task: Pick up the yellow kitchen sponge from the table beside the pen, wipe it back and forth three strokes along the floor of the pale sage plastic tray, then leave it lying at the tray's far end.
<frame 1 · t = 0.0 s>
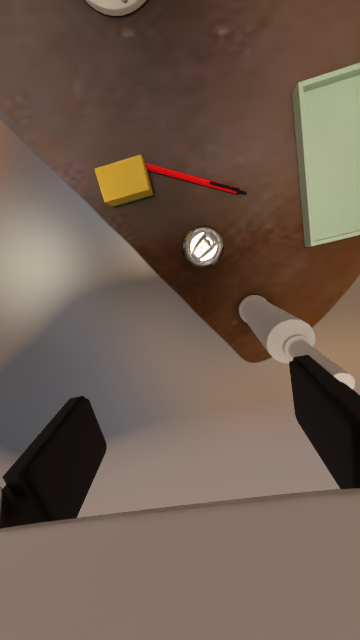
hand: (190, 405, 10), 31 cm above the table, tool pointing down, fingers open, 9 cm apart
bottle: (251, 307, 40), on the table
tray: (333, 166, 34), on the table
soda can: (200, 249, 38), on the table
sponge: (129, 186, 36), on the table
pen: (187, 178, 35), on the table
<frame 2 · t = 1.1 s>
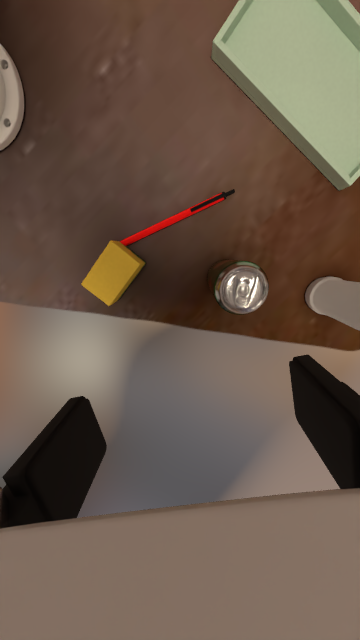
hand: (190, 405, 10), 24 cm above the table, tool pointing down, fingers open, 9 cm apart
bottle: (321, 294, 32), on the table
tray: (312, 85, 25), on the table
soda can: (224, 277, 32), on the table
sponge: (119, 271, 32), on the table, touching pen
pen: (166, 224, 30), on the table, touching sponge
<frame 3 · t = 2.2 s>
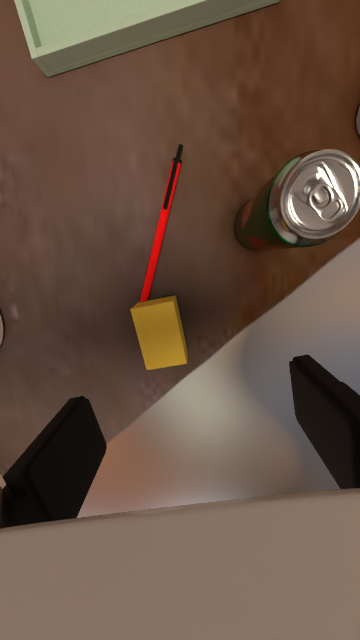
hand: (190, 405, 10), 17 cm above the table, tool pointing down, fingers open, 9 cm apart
soda can: (257, 225, 24), on the table
sponge: (164, 325, 27), on the table
pen: (157, 245, 25), on the table
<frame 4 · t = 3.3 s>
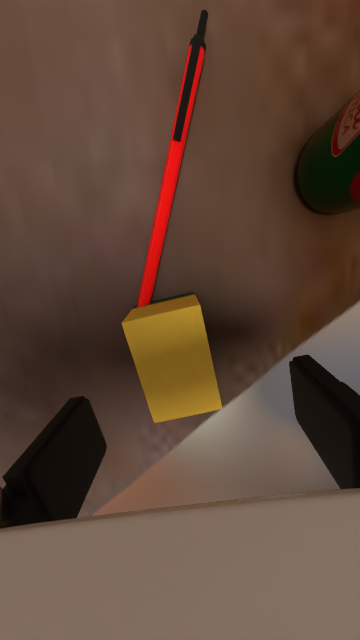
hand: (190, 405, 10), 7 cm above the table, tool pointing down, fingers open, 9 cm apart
soda can: (332, 172, 14), on the table
sponge: (175, 343, 17), on the table, touching pen
pen: (164, 212, 15), on the table, touching sponge
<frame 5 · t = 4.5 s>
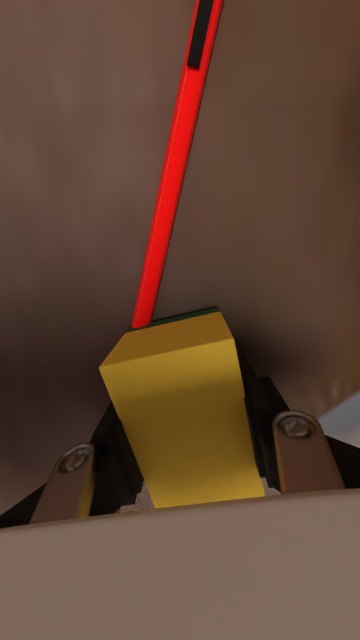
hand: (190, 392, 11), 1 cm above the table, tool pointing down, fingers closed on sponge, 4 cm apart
sponge: (189, 378, 12), on the table, touching gripper
pen: (171, 191, 10), on the table
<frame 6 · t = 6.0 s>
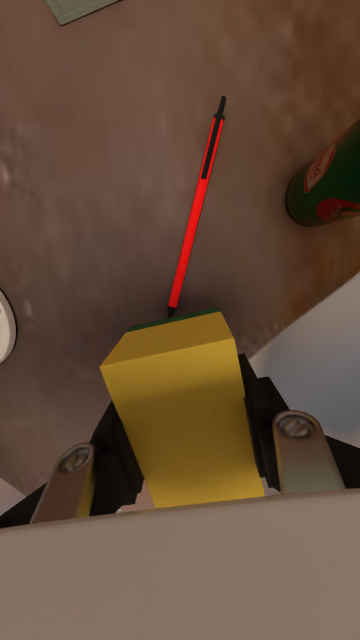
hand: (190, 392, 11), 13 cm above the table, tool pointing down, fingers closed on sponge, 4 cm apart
soda can: (313, 196, 19), on the table
sponge: (189, 377, 12), point 12 cm above the table, touching gripper
pen: (192, 226, 21), on the table
when the fingers open (2 cm above the table, at t = 19.4 s): sponge stays where it is, resting on tray.
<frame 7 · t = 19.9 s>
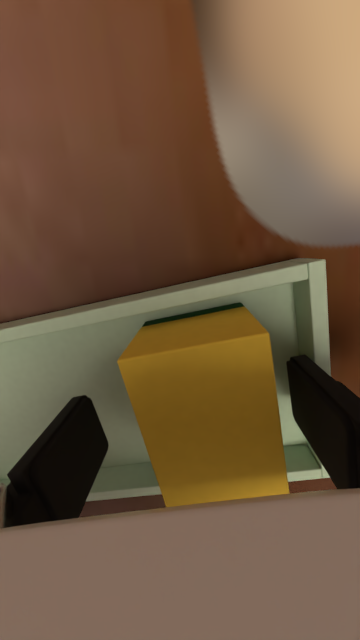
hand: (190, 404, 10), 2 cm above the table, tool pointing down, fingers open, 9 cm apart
tray: (109, 393, 12), on the table
sponge: (206, 377, 11), point 1 cm above the table, touching tray
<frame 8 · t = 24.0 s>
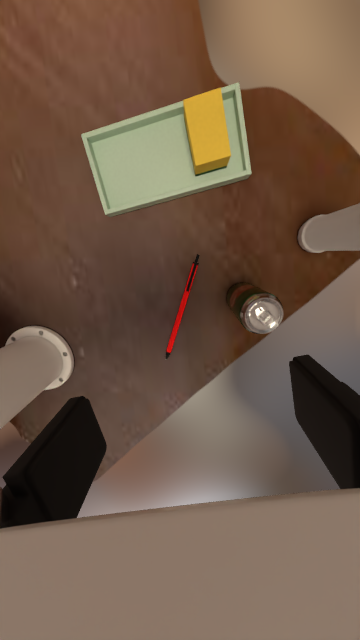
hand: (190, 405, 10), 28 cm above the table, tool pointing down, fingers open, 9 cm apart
bottle: (313, 235, 34), on the table
tray: (168, 160, 32), on the table
soda can: (241, 297, 37), on the table
sponge: (205, 144, 31), point 1 cm above the table, touching tray
pen: (181, 310, 38), on the table
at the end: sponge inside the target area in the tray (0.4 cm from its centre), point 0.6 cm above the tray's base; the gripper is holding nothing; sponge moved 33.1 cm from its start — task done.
